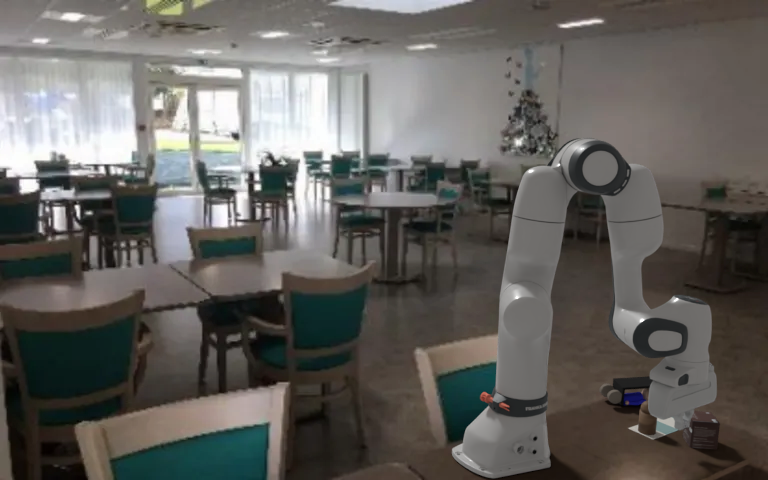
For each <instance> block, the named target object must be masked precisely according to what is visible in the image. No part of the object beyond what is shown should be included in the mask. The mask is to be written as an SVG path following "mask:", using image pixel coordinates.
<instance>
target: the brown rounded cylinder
mask: <svg viewBox="0 0 768 480" xmlns="http://www.w3.org/2000/svg"><path fill="white" fill-rule="evenodd" d="M638 412H639V414H638V424H637V425H638V431H639V432H640V433H642V434H645V435H654V434H656V426H657V418H656V417H654V416H652V415H651V414H650V412H649V410H648V401H644V402H643V403H642V404H640V408H639V411H638Z"/></svg>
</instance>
